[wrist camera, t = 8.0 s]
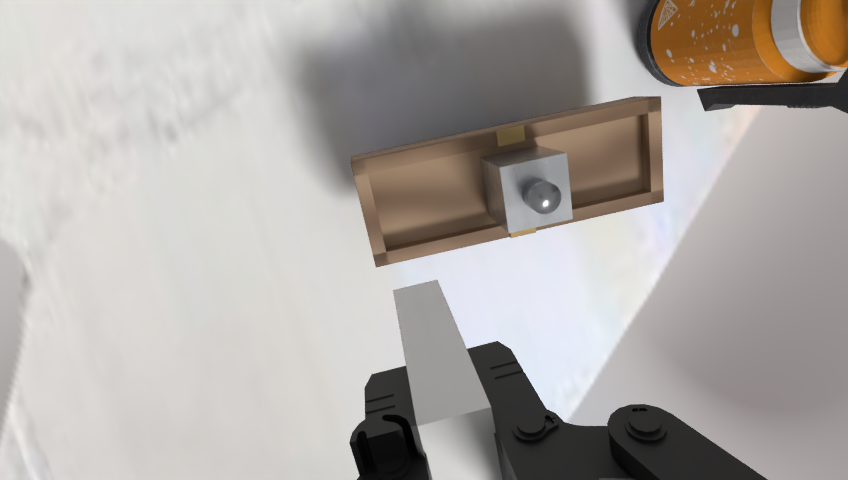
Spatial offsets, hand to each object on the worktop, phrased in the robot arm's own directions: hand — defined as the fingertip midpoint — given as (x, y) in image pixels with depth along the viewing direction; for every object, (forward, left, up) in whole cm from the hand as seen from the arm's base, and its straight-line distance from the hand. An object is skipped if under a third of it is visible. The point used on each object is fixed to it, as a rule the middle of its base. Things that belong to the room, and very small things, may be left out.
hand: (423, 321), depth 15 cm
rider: (+1, +10, -20) cm, 22 cm away
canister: (-6, +28, -27) cm, 39 cm away
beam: (+1, +9, -26) cm, 28 cm away
